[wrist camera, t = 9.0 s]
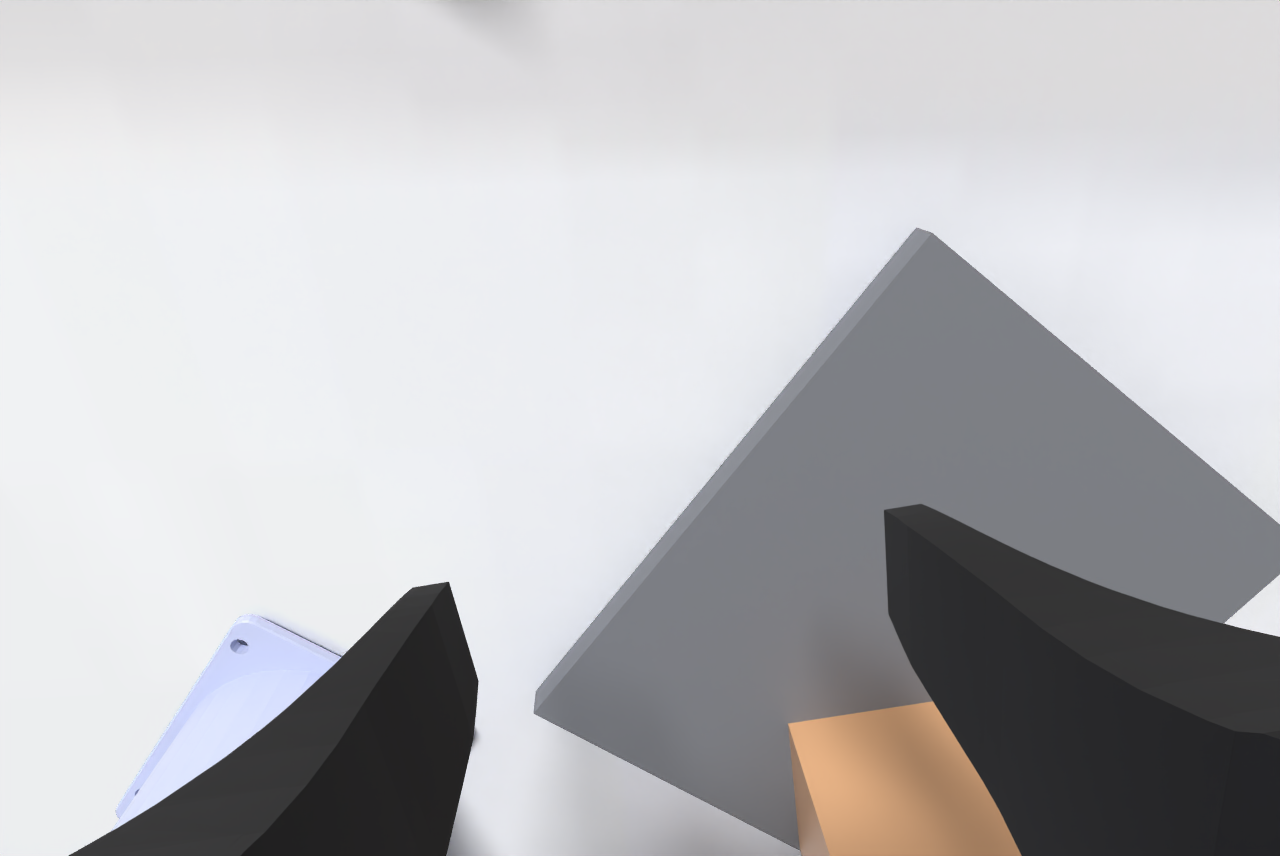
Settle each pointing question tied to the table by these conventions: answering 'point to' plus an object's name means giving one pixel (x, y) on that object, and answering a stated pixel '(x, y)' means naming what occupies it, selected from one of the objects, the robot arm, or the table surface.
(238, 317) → the table surface
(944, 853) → the orange cube
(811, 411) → the duct panel
